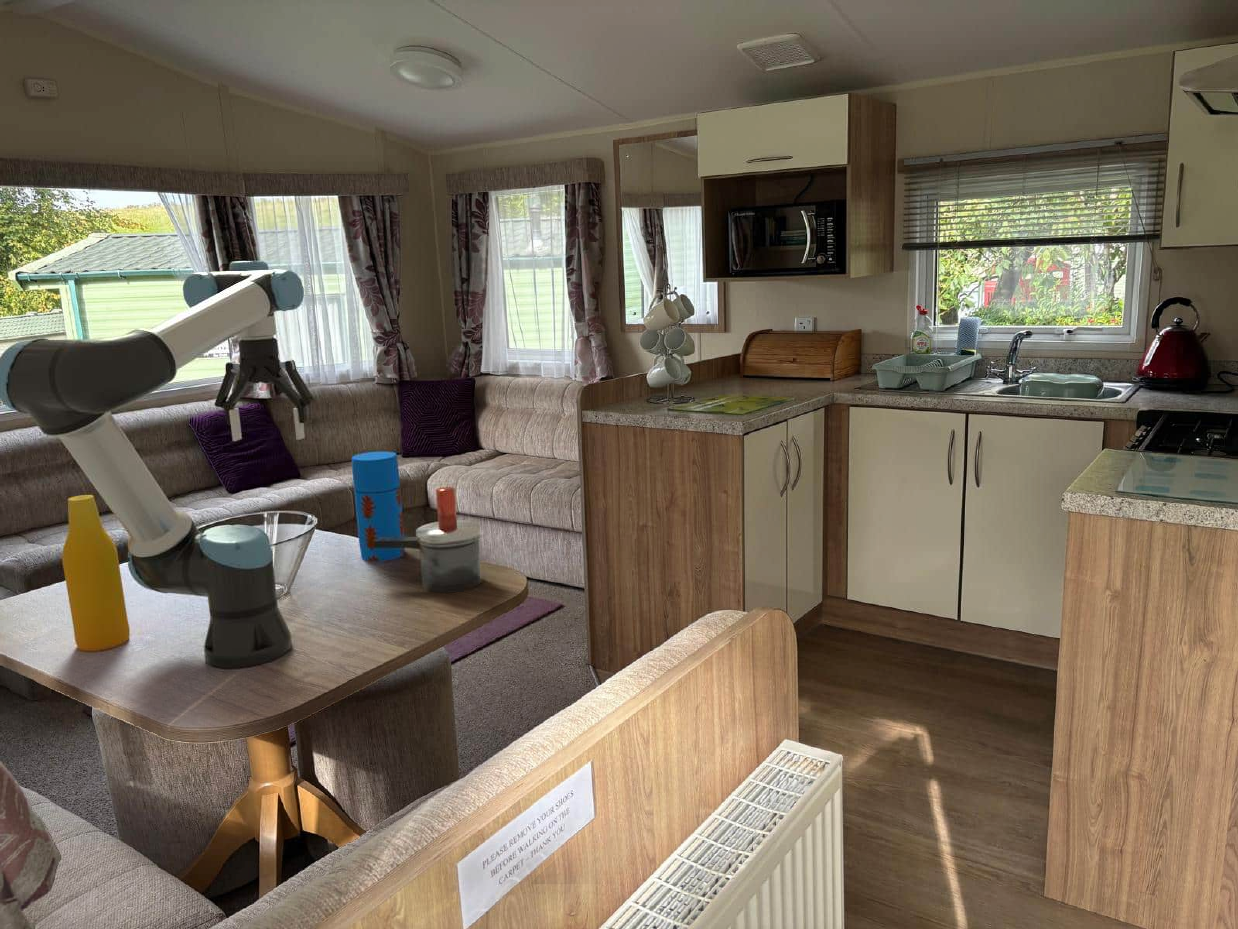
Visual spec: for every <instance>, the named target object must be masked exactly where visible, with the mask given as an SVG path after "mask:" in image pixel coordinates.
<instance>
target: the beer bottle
mask: <svg viewBox="0 0 1238 929" xmlns="http://www.w3.org/2000/svg"><path fill="white" fill-rule="evenodd" d="M67 507H68V508H67V510H68V533H67V535H66V539H65V542H64V545H63V549H62V558H61V559H62V560H61V561H62V567H63V571H64V578H65V579H64V580H65V585H66V590H67V596H68V603H69V608H70V615H71V619H72V620H71V621H72V625H73V626H72V627H73V632H74V633H73V634H74V640H75V644H76V647H77V649H79V650H80V651H83V652H101V650H102V651H106V650H109V649H111V650H112V649H114V648H116V647H119V646H121V645H124V643H126V642H127V641H128V640H129V639H130V632H131V631H130V630H131V629H130V624H129V619H128V614H127V607H126V601H125V596H124V595H125V594H124V588H123V580H122V575H121V569H120V568H121V567H120V562H119V554H118V549H117V546H116V544H115V542H114V541H113V539H112V537H111V536H110V534H109V533H108V532H107V531H106V529H105V528H104V527H103V523H102V521H101V517H100V515H99V514H100V513H99V511H98V506H97V504H96V501H95V496H94V495H92V494H84V495H83V494H82V495H75V496H72V497H69V498H67Z"/></svg>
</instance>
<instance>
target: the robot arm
mask: <svg viewBox="0 0 1238 929" xmlns="http://www.w3.org/2000/svg"><path fill="white" fill-rule="evenodd" d="M302 282H303V281H302V279H301V278H300V276H299V275H298V274H297V273H296V272H294V271H292V270H288V269H277V268H275V269H270V268H269V264H268V263H267V262H266V261H263V260H248V261H247V260H241V261H240V260H239V261H231V262H229V270H228V271H201V272H195V273H191V274H190V275H189V274H188V276H187V277H186V279H185V280H184V282H183V286H182V292H183V293H182V294H183V300H184V301H185V303H186V305H187V306H188V307H189V308H188V309H186V310H184V311H183V312H181V313H178V314H177V315H174V316H173V317H171V318H169V319H166V320H165V321H163V322H161V323H160V324H157V325H156V326H154V327H152V328H150V329H146V328H136V329H134V330H131V331H129V332H128V333H126V334H123V335H118V336H114V337H108V338H105V337H104V338H96V339H95V338H93V339H91V338H88V339H86V338H85V339H48V338H42V337H40V338H35V339H31V340H29V339H28V340H22V341H18V342H15V343H14V344H12V345H10V346H9V347H7V348H6V349H5V351H3V353H2V354H1V355H0V401H1V402H2V403H3V404H4V405H5V406H6V407H8V408H9V409H11V410H13V411H16V412H17V413H21V414H28V415H30V417H31V419H33V421H34V423H35V424H36V425H37V427H38V428H39V429H40V431H41V432H42V434H44V435H45V436H47V437H53V438H59V439H60V441H61V442H62V443H63V445H64V447H65V448H66V450H68V452H69V453H70V455H71V456H72V458H73V459H74V460H75V461H76V463H77V465H79V467H80V468H81V470H82V471H83V473H84V474H85V475H86V477H87V478H88V480H89V481H90V483H91V484H92V485H93V487H94V488H95V489H96V491H97V492H98V494H99V495H100V497H101V498H102V500H103V501H104V502H105V504H106V505H107V507H108V508H109V509H110V511H111V513H113V515H114V516H115V518H116V519H117V520H118V522H119V523H120V524H121V526H122V527H123V529H124V530H125V531H126V533H127V534H128V536H129V539H128V541H127V549H128V552H127V558H128V559H129V561H128V562H127V567H128V570H129V573H130V575H131V577H132V578H133V579H134V581H135V582H136V583H137V584H138V585H140V586H141V587H143V588H144V589H147V590H151V591H154V592H157V593H161V594H174V595H175V594H176V595H184V596H185V595H187V596H196V597H205V598H207V602H208V604H207V605H208V609H209V610H208V611H209V617H210V618H209V623H208V626H207V631H206V632H207V633H206V636H205V640H204V646H203V652H204V660H205V662H206V664H208V665H210V666H213V667H216V668H224V669H237V668H239V669H240V668H248V667H253V666H257V665H261V664H264V663H268V662H271V661H273V660H276V659H278V658H280V657H282V656H283V655H285V654H287V652H289V651H290V650H291V649H292V646H293V642H292V633H291V630H290V629H289V627H288V624H287V623H286V621H285V619H284V616H283V615H282V612H281V611H280V608H279V606H278V599H277V589H276V578H275V569H274V559H273V556H274V554H273V550H272V547H271V542H270V537H269V536H268V534H267V533H266V532H265V531H264V530H262V529H261V528H259V527H257V526H252V525H246V524H233V525H232V524H224V525H217V526H214V527H213V526H212V527H210V528H207V529H206V530H204V531H203V532H202V531H200V530H199V529H198V527H197V525H196V524H195V522H194V521H193V519H192V518H191V515H189V514H188V513H187V512H184V511H180V510H179V511H178V510H176V509H175V508H174V506H173V505H172V503H171V502H170V500H169V499H168V497H167V495H166V494H165V493H164V492H163V490H162V488H161V487H160V485H159V484H158V482H157V481H156V479H155V478H154V476H153V474H152V473H151V472H150V470H149V469H148V467H147V466H146V464H145V463H144V461H143V460H142V458H141V457H140V455H139V453H138V452H137V451H136V449H135V447H134V446H133V444H132V443H131V441H130V440H129V438H128V437H127V435H126V434H125V432H124V431H123V429H122V428H121V426H120V425H119V423H118V422H117V420H116V418H115V417H114V416H113V414H112V411H116V410H119V409H121V408H123V407H125V406H128V405H131V404H133V403H134V402H136V401H139V400H141V399H142V398H144V397H146V396H148V395H150V394H152V393H153V392H155V391H157V390H159V389H161V388H162V387H164V386H166V385H167V384H169V383H170V382H172V381H173V380H174V379H175V378H176V376H177V373H178V370H179V369H181V368H183V367H185V366H186V365H188V364H189V363H191V362H193V361H195V360H196V359H198V358H200V357H201V356H203V355H205V354H206V353H208V352H209V351H211V350H213V349H215V348H216V347H218V346H219V345H222V344H223V343H225V342H227V341H228V340H230V339H231V338H233V337H235V336H237V337H238V338H240V339H239V341H238V344H237V345H238V352H239V357H240V362H236V361H234V360H232V361H229V362H228V361H227V362H226V363H225V374H224V377H223V380H222V382H221V386H220V388H219V390H218V394H217V396H216V398H215V401H214V406H215V407H217V408H221V409H223V410H224V413H225V421H226V425H228V426H230V429H231V438H232V442H237V441H240V440H242V439H243V437H242V426H241V419H240V410H239V408H238V407H237V408H236V406H237V404H238V402H239V401H240V399H241V398H242V396H243V395H244V394H245V392H246V391H247V389H248V388H249V387H250V385H251V384H259V383H262V384H270V383H272V384H273V385H275V386H276V387H277V388H278V389H279V390H280V391H281V392H282V393H283V394H284V395H285V396H286V397H287V399H288V400H290V401H291V402H292V404H294V405H295V406H296V407H294V408H292V410H293V419H294V428H295V438H296V440H302V439H304V438H305V437H306V436H305V426H304V425H305V423H307V422H308V415H307V414H308V413H307V407H308V406H309V405H311V404H313V403H315V398H314V397H313V395H312V393H311V392H310V390H309V388H308V386H307V385H306V383H305V382H304V380H303V378H302V377H301V375H300V374H299V371H298V369H297V365H296V361H295V360H294V359H288V360H285V361H281V360H280V356H279V345H278V339H277V338H276V337H274V336H276V335H277V328H276V318H275V312H279V311H282V312H287V311H293V310H296V309H298V308H299V307H300V306H301V305H302V304H303V301H304V296H305V289H304V286H303V283H302ZM282 369H283V371H284V372H286V374H287V376H288V378H289V379H290V381H291V383H292V385H293V386H294V388H295V389H296V390H295V389H294V388H293V387H292V386H291V385H290V384H289V383H288V381H287V380H286V379H285V377H284V376H283V375H281V373H280V371H281V370H282ZM240 371H241V372H242V374H243V376H242V378H241V379H240V381H239V383H238V384H237V386H236V387H235V389H234V390H233V392H232V393H231V389H232V387H233V384H234V382H235V380H236V376H237V373H239V372H240ZM230 393H231V394H230ZM229 395H230V396H229Z"/></svg>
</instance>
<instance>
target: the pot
mask: <svg viewBox="0 0 1238 929" xmlns="http://www.w3.org/2000/svg"><path fill="white" fill-rule="evenodd" d="M480 539H481V534H480V535H479V536H478V537H476V538H475V539H472V540H469V541H466V542H461V543H456V544H445V545H434V544H426V543H422V542H419V541H418V540H417V539H416V536H404V537H378V538H377V539H376V540H375V541H374V548H405V549H407V548H409V549H411V548H413V549H414V548H416V549H417V548H419V554H420V557H419V559H420V568H421V581H422V587H423V588H424V589H425V590H427V591H430V592H435V593H456V592H461V591H462V592H463V591H465V590H469V589H470V590H471V589H474V587H477V586H478V585H480V584H481V583H482V581H483V580H482V567H481V565H482V564H481V550H480ZM480 582H481V583H480ZM479 583H480V584H479ZM476 585H477V586H476Z"/></svg>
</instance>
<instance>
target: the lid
mask: <svg viewBox="0 0 1238 929" xmlns="http://www.w3.org/2000/svg"><path fill="white" fill-rule="evenodd" d="M455 491H456V490H455V487H453V486H442V487H438V488H436V489H435V493H436V494H435V495H436V507H437V508H436V509H437V518H438V519H437V521H434V522H430V523H426V524H423V525H421V526H420V527H417V528H416V530H415V537H416V539H417V540H418V541H419V542H422V543H426V544H434V545H445V544H456V543H461V542H466V541H469V540H472V539H475V538H476V537H478V536H479V535H480V536H481V525H480V524H479V523H477V522H475V521H471V520H467V519H465V520H463V519H458V518H457V504H456V493H455Z"/></svg>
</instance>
